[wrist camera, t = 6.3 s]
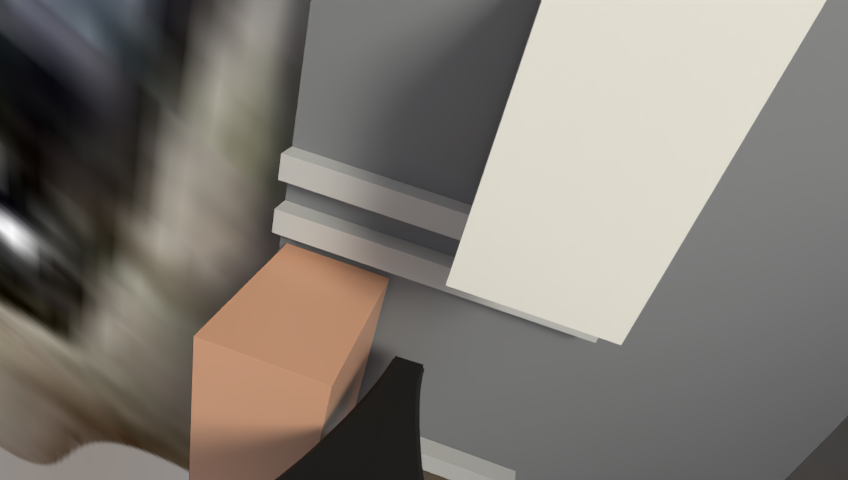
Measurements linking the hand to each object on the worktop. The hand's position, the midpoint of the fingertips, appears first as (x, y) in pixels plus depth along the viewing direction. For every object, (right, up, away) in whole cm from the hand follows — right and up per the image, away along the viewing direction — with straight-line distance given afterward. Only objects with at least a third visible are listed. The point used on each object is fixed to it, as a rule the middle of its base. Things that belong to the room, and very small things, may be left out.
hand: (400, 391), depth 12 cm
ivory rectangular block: (+3, +6, -3) cm, 7 cm away
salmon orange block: (-2, +1, +1) cm, 2 cm away
